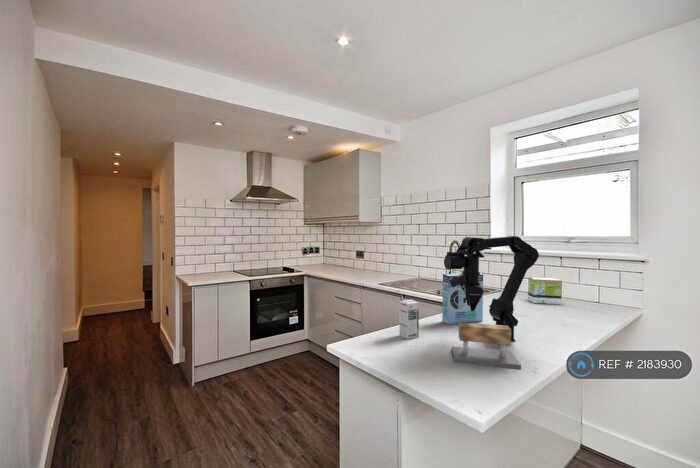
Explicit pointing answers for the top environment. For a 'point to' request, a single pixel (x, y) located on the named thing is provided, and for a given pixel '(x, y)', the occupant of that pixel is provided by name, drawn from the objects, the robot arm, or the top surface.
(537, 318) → the top surface
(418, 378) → the top surface
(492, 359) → the peg stand
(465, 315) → the gum box
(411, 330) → the syrup box
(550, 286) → the tea box
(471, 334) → the wooden block
